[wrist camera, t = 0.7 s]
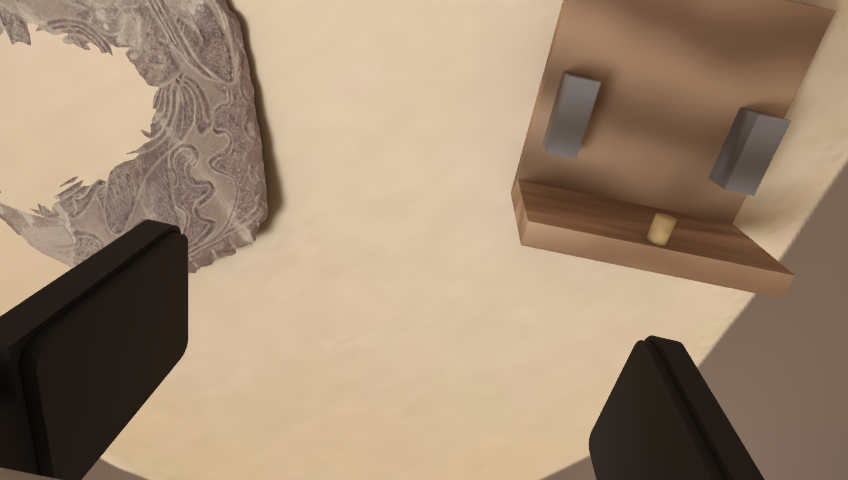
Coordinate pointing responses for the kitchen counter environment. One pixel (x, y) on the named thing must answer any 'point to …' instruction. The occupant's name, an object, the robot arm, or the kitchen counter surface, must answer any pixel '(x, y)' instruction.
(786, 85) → the pegged stand
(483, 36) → the kitchen counter surface
